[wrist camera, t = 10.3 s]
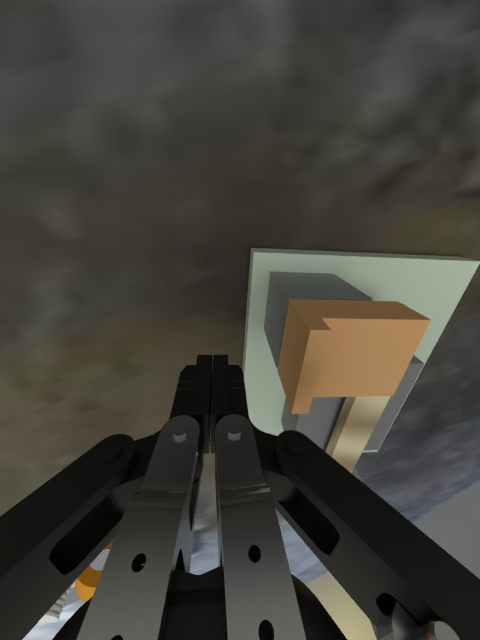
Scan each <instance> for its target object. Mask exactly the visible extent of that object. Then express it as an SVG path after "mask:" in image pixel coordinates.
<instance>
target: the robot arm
mask: <svg viewBox="0 0 480 640" xmlns="http://www.w3.org/2000/svg"><path fill="white" fill-rule="evenodd" d="M210 427H211V453H215V486H216V508H217V530H218V563H219V567H217V568H215V569H213V570H211V571H209V572H206V573H204V574H202V575H194V574H191V573H189V571H190V564H191V554H192V540H193V531H194V524H195V517H196V510H197V503H198V496H199V489H200V482H201V474H202V469H203V458H204V453H209V447H210ZM275 508H276V509H277V510H278V511H279V513H280V514H281V515H282V516H283V517H284V518H285V520H286V521H287V522H288V523H289V524H290V526H291V527H292V528H293V529H294V530H295V531H296V533H297V534H298V535H299V536H300V537H301V539H302V540H303V541H304V542H305V543H306V544H307V546H308V547H309V548H310V549H311V550H312V552H313V553H314V554H315V555H316V556H317V557H318V559H319V560H320V561H321V562H322V563H323V565H324V566H325V567H326V568H327V569H328V571H329V572H330V573H331V574H332V575H333V576H334V578H335V579H336V580H337V581H338V582H339V584H340V585H341V586H342V587H343V588H344V589H345V591H346V592H347V593H348V594H349V595H350V597H351V598H352V599H353V600H354V601H355V602H356V604H357V605H358V606H359V607H360V608H361V610H362V611H363V612H364V613H365V614H366V615H367V617H368V618H369V619H370V621H371V624H372V627H373V630H374V633H375V636H376V638H377V640H480V579H479V578H478V577H476V576H475V575H474V574H473V573H471V572H470V571H469V570H468V569H467V568H465V567H464V566H463V565H462V564H461V563H459V562H458V561H457V560H456V559H454V558H453V557H452V556H451V555H450V554H448V553H447V552H446V551H445V550H444V549H442V548H441V547H440V546H439V545H437V544H436V543H435V542H434V541H433V540H432V539H430V538H429V537H428V536H427V535H425V534H424V533H423V532H422V531H421V530H419V529H418V528H417V527H416V526H415V525H413V524H412V523H411V522H410V521H409V520H407V519H406V518H405V517H404V516H402V515H401V514H400V513H399V512H398V511H396V510H395V509H394V508H393V507H392V506H390V505H389V504H388V503H387V502H386V501H384V500H383V499H382V498H381V497H379V496H378V495H377V494H376V493H375V492H373V491H372V490H371V489H370V488H369V487H367V486H366V485H365V484H364V483H363V482H361V481H360V480H359V479H358V478H356V477H355V476H354V475H353V474H352V473H350V472H349V471H348V470H347V469H346V468H344V467H343V466H342V465H341V464H340V463H338V462H337V461H336V460H335V459H333V458H332V457H331V456H330V455H329V454H327V453H326V452H325V451H324V450H323V449H321V448H320V447H319V446H318V445H317V444H315V443H314V442H313V441H312V440H310V439H309V438H308V437H307V436H306V435H304V434H303V433H301V432H298V431H295V430H286V431H283V432H281V433H280V434H279V435H278V436H276V435H273V434H269V433H266V432H263V431H261V430H259V429H258V428H256V427H255V426H254V425H253V423H252V422H251V420H250V418H249V413H248V405H247V397H246V389H245V382H244V373H243V371H242V369H241V368H240V367H239V365H228V355H214V357H213V356H212V355H198V357H197V363H196V365H186V367H185V368H184V369H183V370H182V371H181V373H180V377H179V382H178V385H177V390H176V394H175V398H174V402H173V406H172V411H171V415H170V418H169V420H168V421H167V422H166V423H165V424H164V426H163V427H162V429H161V430H160V431H158V432H157V433H155V434H153V435H151V436H148V437H145V438H142V439H139V440H136V441H134V440H133V439H132V437H130V436H128V435H125V434H116V435H112V436H110V437H107V438H105V439H104V440H102V441H101V442H99V443H98V444H97V445H95V446H94V447H93V448H91V449H90V450H89V451H87V452H86V453H85V454H83V455H82V456H81V457H79V458H78V459H77V460H75V461H74V462H73V463H71V464H70V465H69V466H67V467H66V468H65V469H63V470H62V471H61V472H59V473H58V474H57V475H55V476H54V477H52V478H51V479H50V480H48V481H47V482H46V483H44V484H43V485H42V486H40V487H39V488H38V489H36V490H35V491H34V492H32V493H31V494H30V495H28V496H27V497H26V498H24V499H23V500H22V501H20V502H19V503H18V504H16V505H15V506H14V507H12V508H11V509H10V510H8V511H7V512H6V513H4V514H3V515H2V516H0V640H22V639H23V638H24V637H25V636H26V635H27V634H28V633H29V631H30V630H31V629H32V628H33V627H34V626H35V625H36V624H37V623H38V622H39V620H40V619H41V618H42V617H43V616H44V615H45V614H46V613H47V612H48V610H49V609H50V608H51V607H52V606H53V605H54V604H55V603H56V602H57V600H58V599H59V598H60V597H61V596H62V595H63V594H64V593H65V592H66V590H67V589H68V588H69V587H70V586H71V585H72V584H73V583H74V582H75V580H76V579H77V578H78V577H79V576H80V575H81V574H82V573H83V572H84V570H85V569H86V568H87V567H88V566H89V565H90V564H91V563H92V562H93V560H94V559H95V558H96V557H97V556H98V555H99V554H100V553H101V552H102V550H103V549H104V548H105V547H106V546H107V545H108V544H109V543H110V542H111V541H112V539H113V538H114V537H115V538H114V541H113V543H112V546H111V549H110V551H109V554H108V557H107V559H106V562H105V565H104V567H103V570H102V573H101V575H100V578H99V581H98V583H97V586H96V589H95V591H94V594H93V596H92V597H91V598H90V599H89V600H88V601H87V602H86V603H85V604H83V605H82V606H81V607H80V608H79V609H78V610H77V611H76V612H75V613H74V614H73V616H72V617H71V618H70V619H69V620H68V621H67V622H66V623H65V624H64V626H63V627H62V628H61V629H60V630H59V632H58V633H57V634H56V635H55V637H54V638H53V639H52V640H347V639H346V637H345V636H344V634H343V633H342V632H341V630H340V629H339V628H338V626H337V625H336V623H335V622H334V621H333V619H332V618H331V616H330V615H329V614H328V612H327V611H326V609H325V608H324V607H323V605H322V604H321V603H320V601H319V600H318V599H317V597H316V596H315V595H314V594H313V593H312V592H311V591H310V589H309V588H308V587H307V586H306V585H305V584H304V583H302V582H301V581H300V580H299V579H298V578H296V577H295V576H294V575H292V574H291V572H290V568H289V564H288V560H287V555H286V551H285V547H284V543H283V538H282V534H281V530H280V526H279V521H278V517H277V513H276V509H275Z"/></svg>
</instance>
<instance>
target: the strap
mask: <svg viewBox="0 0 480 640" xmlns="http://www.w3.org/2000/svg"><path fill="white" fill-rule="evenodd" d="M390 397H391V396H365V397H346V399H345V402H344V405H343V407H342V410H341V412H340V415H339V418H338V420H337V423H336V425H335V428H334V431H333V433H332V436H331V438H330V441H329V444H328V446H327V449H326V451H325V452H326V453H327V454H329V455H330V456H331V457H332V458H333V459H335V460H336V461H337V462H338V463H340V464H341V465H342V466H343V467H344V468H346V469H347V470H348V471H349V472H350V473H352V471H353V469H354V467H355V465H356V463H357V461H358V459H359V457H360V455H361V453H362V451H363V449H364V448H365V446H366V444H367V442H368V440H369V438H370V436H371V434H372V432H373V430H374V428H375V426H376V424H377V422H378V420H379V418H380V416H381V414H382V412H383V410H384V408H385V407H386V405H387V403H388V401H389V399H390Z"/></svg>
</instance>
